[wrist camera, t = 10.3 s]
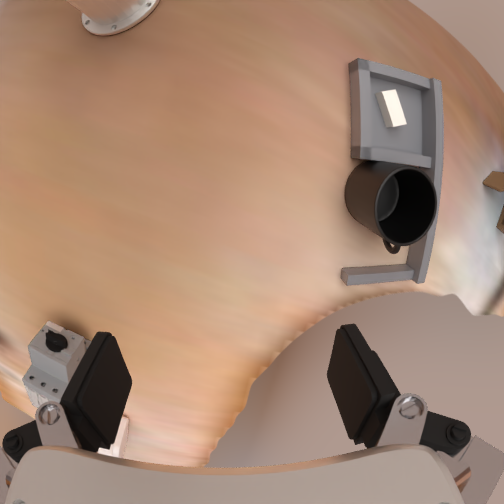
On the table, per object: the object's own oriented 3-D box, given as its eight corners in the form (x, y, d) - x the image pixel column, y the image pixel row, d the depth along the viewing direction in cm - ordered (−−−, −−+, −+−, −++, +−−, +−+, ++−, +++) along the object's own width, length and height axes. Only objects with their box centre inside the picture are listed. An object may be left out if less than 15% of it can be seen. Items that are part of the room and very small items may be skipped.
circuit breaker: (92, 316, 40) (54, 376, 26) (92, 368, 44) (67, 424, 30) (58, 301, 38) (14, 353, 24) (62, 354, 43) (32, 405, 29)
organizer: (348, 63, 28) (360, 56, 24) (425, 84, 29) (441, 81, 25) (340, 277, 40) (350, 290, 36) (411, 272, 40) (424, 282, 37)
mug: (347, 246, 38) (375, 273, 29) (340, 163, 33) (371, 169, 25) (400, 235, 38) (434, 258, 29) (397, 157, 33) (436, 164, 25)
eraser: (374, 93, 29) (381, 91, 27) (388, 91, 29) (395, 89, 27) (386, 127, 31) (393, 127, 29) (398, 124, 31) (406, 124, 29)
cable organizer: (128, 438, 55) (120, 472, 44) (93, 425, 53) (82, 457, 42) (130, 413, 50) (119, 453, 39) (89, 397, 48) (74, 434, 37)
